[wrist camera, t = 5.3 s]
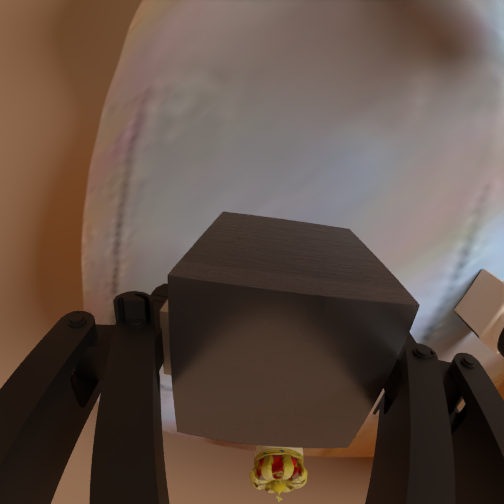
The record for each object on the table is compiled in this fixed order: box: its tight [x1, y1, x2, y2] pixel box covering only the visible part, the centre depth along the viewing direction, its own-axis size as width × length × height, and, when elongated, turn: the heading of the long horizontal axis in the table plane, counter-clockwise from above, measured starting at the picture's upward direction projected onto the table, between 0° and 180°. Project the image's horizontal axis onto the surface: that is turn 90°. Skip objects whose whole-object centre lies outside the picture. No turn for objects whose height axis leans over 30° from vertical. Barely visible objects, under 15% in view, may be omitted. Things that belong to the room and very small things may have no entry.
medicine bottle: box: [454, 269, 504, 357], centre depth 24 cm, size 7×7×12 cm
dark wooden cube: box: [168, 212, 420, 448], centre depth 11 cm, size 6×6×8 cm
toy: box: [249, 445, 307, 502], centre depth 30 cm, size 7×7×15 cm
